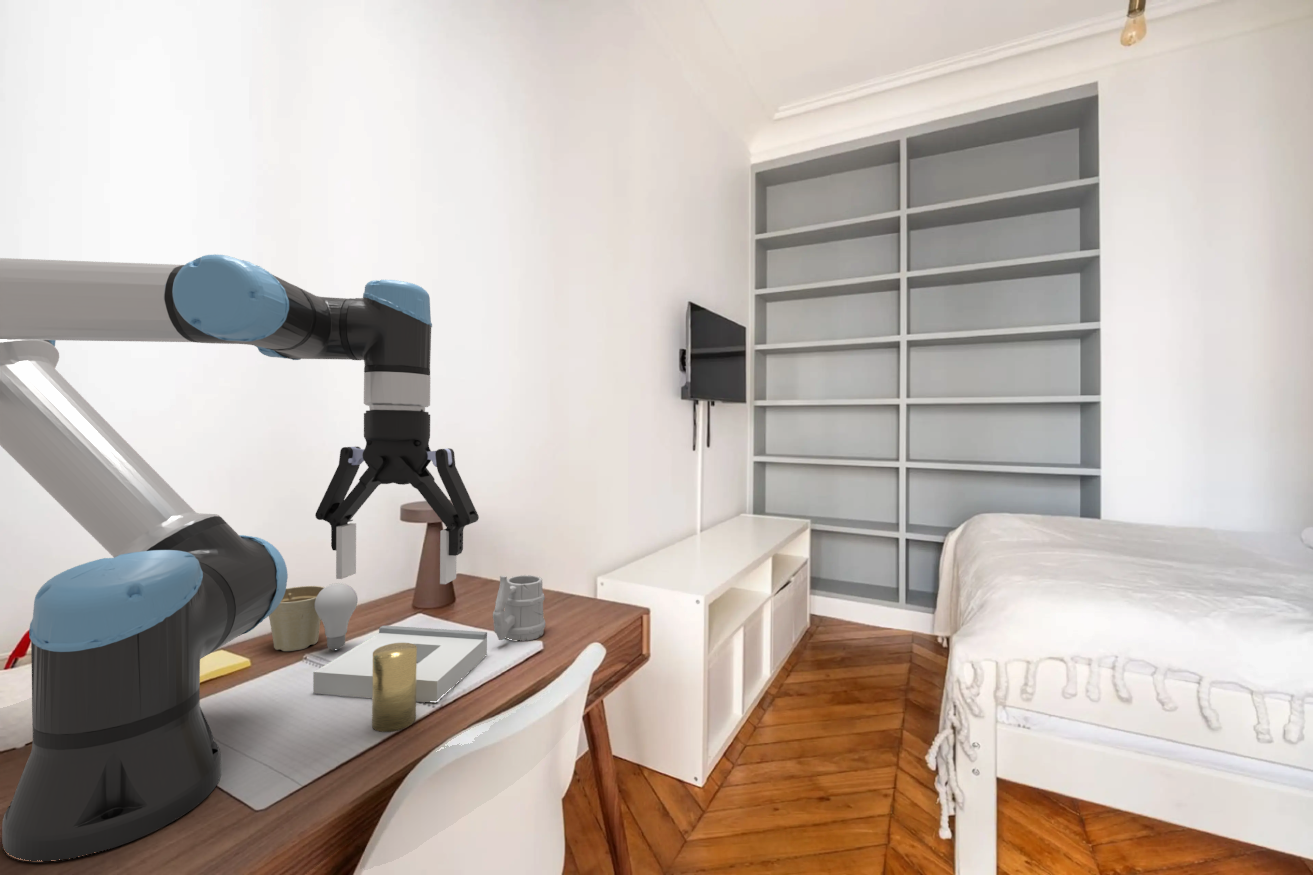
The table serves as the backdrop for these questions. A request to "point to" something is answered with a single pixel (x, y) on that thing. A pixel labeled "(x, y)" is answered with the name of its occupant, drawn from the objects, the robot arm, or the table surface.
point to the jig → (437, 659)
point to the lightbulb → (336, 611)
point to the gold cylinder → (394, 687)
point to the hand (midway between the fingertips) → (396, 578)
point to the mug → (519, 608)
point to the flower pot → (296, 619)
